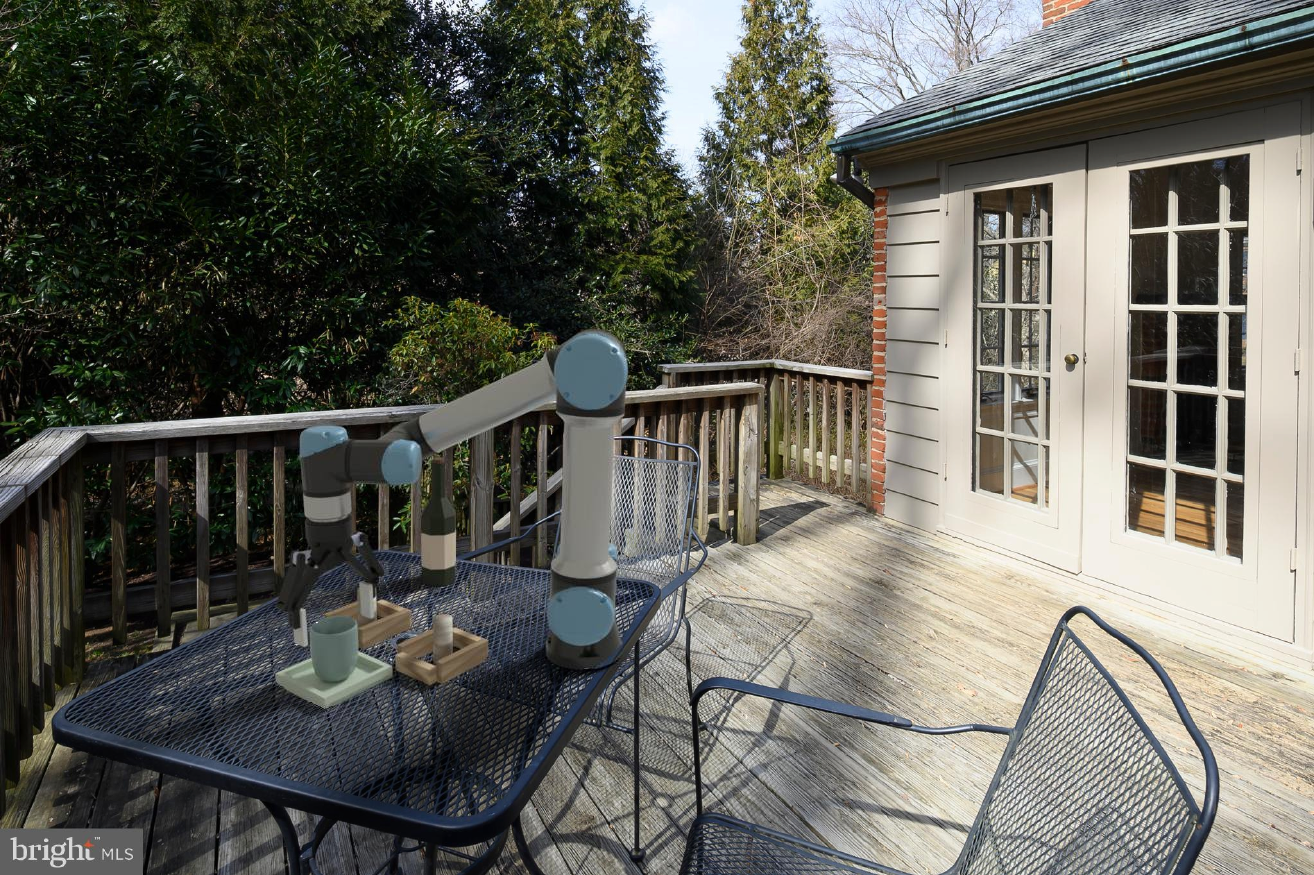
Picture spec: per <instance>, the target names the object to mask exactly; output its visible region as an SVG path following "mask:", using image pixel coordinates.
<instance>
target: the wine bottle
mask: <svg viewBox="0 0 1314 875" xmlns="http://www.w3.org/2000/svg"><path fill="white" fill-rule="evenodd" d="M430 478H431V479H430V490H431V492H430V494H431V496H430V498H429V500H428V501H427V502H426V505H425V506H424V508H423V510H422V512H421V515H420V537H421V538H420V540H421V541H420V542H421V547H420V548H421V549H420V550H421V555H420V556H421V584H424V585H426V586H429V587H446V586H447V585H450V584H451V585H452V584H454V583H455V582H456V579H455V576H456V575H457V571H456V570H457V569H456V568H457V566H456V565H457V557H456V554H457V552H456V551H457V548H456V545H457V541H456V540H457V539H456V537H457V536H456V531H457V530H456V527H457V526H456V525H457V524H456V522H457V521H456V520H457V518H456V516H457V514H456V509H455V508H454V506H453V505H452V504H451V502H450V500H449V499H448V497H447V495H446V460H444V457H433V458H432V461H431V462H430ZM456 577H457V576H456ZM454 581H455V582H454Z"/></svg>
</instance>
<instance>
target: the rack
mask: <svg viewBox="0 0 1314 875" xmlns="http://www.w3.org/2000/svg"><path fill="white" fill-rule="evenodd" d="M356 594H357V600H356V601H354V602H352V603H350V604H347V605H344V606H342V607H339V608H337V609H334V610H331V611H328V612H326V613H324V614H323V619H324V618H327V617H332V616H346V617H350V618H353V619H354V620H356V622H357V625H358V649H362V650H365V649H367V648H369V647H371V646H374V645H376V644H378V643H380V642H383V641H385V640H387V639H389V638H392V637H394V636H397V635H399V634H401V633H403V632H405V631H407V630H410V629H411V625H412V623H413V622H412V621H413V620H412V610H411V609H408V608H405V607H402V606H401V605H398V604H395V603H392V602H389V601H387V600H385V599H380V600H378V601H377V595H376V596H375V598H373V605H374V618H371V619H370V618H368V617H365V616H362V615H361V602H360V587H358V588H357V590H356ZM378 617H380V619H378ZM453 618H454V617H453V616H452V615H450V614H445V613H444V614H442V613H441V614H437V615H434V617H433V618H432V628H431V629H430V630H427V631H425V632H422V633H421V634H418V635H416V636H414V637H412V638H410V639H409V638H408V639H407V640H405V641H403V642H401V643H398V644H397V646H396V649H397V650H396V652H397V653H396V654H395V671H397V672H399V673H402V674H403V675H406V676H409V677H411V678H412V679H415V680H418V681H420V682H422V681H423V682H422V683H424V684H426V685H428V686H432V685H433V684H435V683H439V684H441V685H443V684H445V683H447V682H449V681H452V680H453V679H454V678H456V677H458V676H460V675H461V674H464V673H465V672H467V671H469V670H471V669H473V668H474V667H476V666H478V665H480V664H482V663H484V662H486V661H485V659H486V658H487V657H488V658H489V656H488V655H489V640H488V639H486V638H483V637H480V636H479V635H475V634H473V633H470V632H467V631H465V630H462V629H460V628H458V627H453V620H454V619H453ZM453 647H454V648H455V647H456V648H458V650H457V651H455V652H453V651H454V650H453V649H454V648H453ZM431 652H432V653H431ZM429 653H430V654H432V655H433V657H432V658H433V659H432V660H433V661H432V662H433V664H432V663H429V662H427V661H424V660H422V659H421V658H419V659H418V658H415V657H420V656H423V655H425V654H427V655H429ZM425 656H426V655H425ZM423 657H424V656H423Z"/></svg>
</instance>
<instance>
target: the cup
mask: <svg viewBox="0 0 1314 875" xmlns="http://www.w3.org/2000/svg"><path fill="white" fill-rule="evenodd" d="M309 648H310V650H309V651H310V658H311V660H312V665H313V669H314V672H315V674H316V675H317V676H318V677H319V678H320V679H322V680H324V681H327V682H337V681H341V680H344V679H346V678H347V677H349V676H350V675H351V674H352V673H353V672H354V670H355V668H356V665H357V660H358V651H359V647H358V623H357V622H356V620H354V619H353V618H350V617H346V616H332V617H327V618H324V617H323V618H321V619H318V620H317V621H314V623H312V624H311V626H310V627H309Z"/></svg>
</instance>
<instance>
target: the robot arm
mask: <svg viewBox="0 0 1314 875" xmlns="http://www.w3.org/2000/svg"><path fill="white" fill-rule="evenodd" d="M627 357H628V356H627V353H626V350H625V346H624V344H622V342H621V340H620V339H619V338H618V337H616V336H615V335H614V334H613V333H611V332H609V331H606V330H603V329H601V328H600V329H598V328H589V329H585V330H581V331H580V332H578V333H576V334H574V335H573V336H572V337H571V338H569V339H568V340H566V341H565V342H563V343H562V344H561V345H559V346H556V347H554V348H553V349H550V350H548V351H545V353H544V354H543V357H542V359H541V360H540V361H538V362H536V363H533V364H532V365H529V366H527V367H525V368H523V369H521V370H518V371H516V372H514V373H512V374H510V375H507V376H505V377H503V378H500V379H498V380H496V381H495V382H492V383H490V384H488V385H486V386H483V387H481V388H479V389H477V390H474V391H472V392H469V393H468V394H465V395H463V396H461V397H459V398H457V399H455V400H453V401H450V402H448V403H446V404H444V405H441V406H439V407H436V408H435V409H433V410H431V411H428V412H427V413H425V414H422V415H420V416H418V417H416V418H414V419H411V420H409V421H406V422H405V421H403V422H401V423H399V424H397V425H395V426H393V427H392V428H391V429H390V430H389V431H388V432H387V433H385V434H384V435H382V436H381V437H379V438H378V439H353V438H351V439H349V436H348V432H347V429H345V428H344V427H343V426H336V425H318V426H311V427H307V428H306V429H304V430H303V431H301V433H300V436H299V455H298V456H299V460H300V461H299V462H300V469H301V470H300V472H301V481H302V495H303V496H302V497H303V508H304V516H305V517H306V518H305V520H304V525H305V526H304V528H305V538H306V540H307V541H306V542H307V548H306V550H304V551H297V550H292V551H291V552H290V555H289V556H290V558H289V566H288V569H287V571H286V575H285V578H284V580H283V583H282V587H281V589H280V592H279V595H278V597H277V599H276V603H275V608H276V609H278V610H280V611H283V612H285V613H287V614H288V615H287V617H288V625H289V628H291V629H292V630H293V641H294V644H297V645H299V646H301V647H302V648H303V647H304V648H305V647H307V646H309V638H308V628H307V626H308V625H307V611H306V609H304V608H303V605H304V604H305V602H306V601H307V600H308V597H309V595H310V594H311V593H312V590H313V589H314V587H315V585H316V583H317V581H318V579H319V577H321V576H323V574H324V573H325V571H330V570H332V569H334V568H335V567H341V566H343V565H344V564H346V566H348V568H350V569H351V570H352V571H353V572H355V574H357V575H358V576H359V577H360V578H361V579H362V581H359V588H360V602H361V615H362V616H365V617H368V618H370V619H371V618H374V605H373V598H375V596H376V597H377V587H376V584H379V582H380V577H383V576H384V575H385V570H384V568H383V566H382V564H381V563H380V562H379V560H378V558H377V556H376V555H375V553H374V551H373V549H372V548H371V545H370V544H369V536H368V534H367V533H363V532H360V531H354V532H353V518H352V515H351V514H350V513H351V512H352V510H353V509H352V500H351V496H352V495H351V487H350V486H351V485H350V484H353V485H354V484H363V485H364V484H365V485H366V484H367V485H392V486H393V485H394V486H399V485H412V484H415V483H416V482H417V481H418V480H419V478H420V474H421V473H422V466H423V460H425V459H428V458H429V457H432V456H434V455H436V454H439V453H440V452H442V451H445V450H446V449H449V448H451V447H453V446H456V445H458V444H459V443H462V442H464V441H466V440H469V439H471V438H473V437H475V436H477V435H480V434H482V433H485V432H487V431H489V430H491V429H493V428H495V427H498V426H500V425H503V424H504V423H507V422H508V421H511V420H513V419H516V418H518V417H520V416H522V415H524V414H526V413H529V412H531V411H534V410H536V409H539V408H541V407H543V406H544V405H547V404H549V403H551V402H553V401H556V403H555V414H557V415H558V416H559V418H561V419H562V420H563V422H564V423H563V424H564V430H563V431H564V432H563V457H562V460H563V461H562V486H561V488H562V490H561V491H562V492H561V515H560V516H561V518H560V544H559V545H558V547H557V552H556V555H555V558H553V560H552V561H551V563H550V565H551V566H550V584H549V585H550V586H549V587H550V588H549V602H548V603H547V604H548V605H547V607H546V618H547V624H548V625H549V629H550V630H549V633H548V634H547V635H548V636H547V639H546V642H545V654H546V657H547V658H548V660H549V661H550V662H551V663H553V665H556V666H559V667H561V668H564V667H565V669H567V668H569V669H568V670H572V669H575V670H574V671H580V670H579V669H584V668H592V667H595V666H597V665H600V664H601V663H603V662H604V661H606V660H607V659H609V657H611V656H612V655H613V654H614V653H615V652H616V650H618V648H619V647H620V645H621V644H622V645H623V641H622V638H621V635H620V632H619V629H618V628H619V627H618V624H617V621H616V617H617V614H616V613H617V612H616V589H617V570H618V565H617V561H618V559H619V558H618V551H617V550H618V549H617V547H616V545H615V544H614V543H612V542H610V540H611V539H610V538H611V537H610V536H611V535H610V534H611V515H612V495H613V479H614V478H613V475H614V454H615V452H614V451H615V435H616V434H615V433H616V432H615V431H616V423H617V422H619V421H620V420H621V419H622V418H623V417H625V410H626V408H625V407H626V392H627V390H626V388H627V382H628V377H629V376H628V374H629V366H628V358H627ZM353 546H355V548H356V550H357V551H358V554H359V555H360V557H361V558H362V560H363V561H364V563H365V565H364V564H363V563H362V562H360V561H359V560H358V558H357V557H356V556H354V555H353V553H352V552H351V550H352V548H353ZM308 559H309V560H308ZM315 567H317V568H315Z"/></svg>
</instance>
